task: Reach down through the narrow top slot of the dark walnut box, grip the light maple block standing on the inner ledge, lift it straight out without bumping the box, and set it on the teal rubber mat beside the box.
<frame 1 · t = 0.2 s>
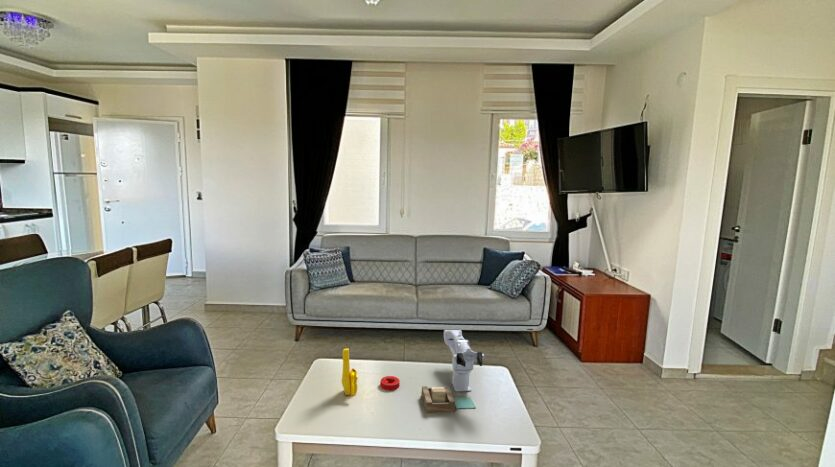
hand: (473, 364, 190), 21 cm above the table, tool horizontal, fingers open, 7 cm apart
decorative ornament: (389, 386, 211), on the table
slotted box: (437, 404, 196), on the table, touching maple block
teal mat: (463, 403, 197), on the table
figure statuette: (349, 393, 202), on the table
maple block: (437, 399, 196), point 2 cm above the table, touching slotted box
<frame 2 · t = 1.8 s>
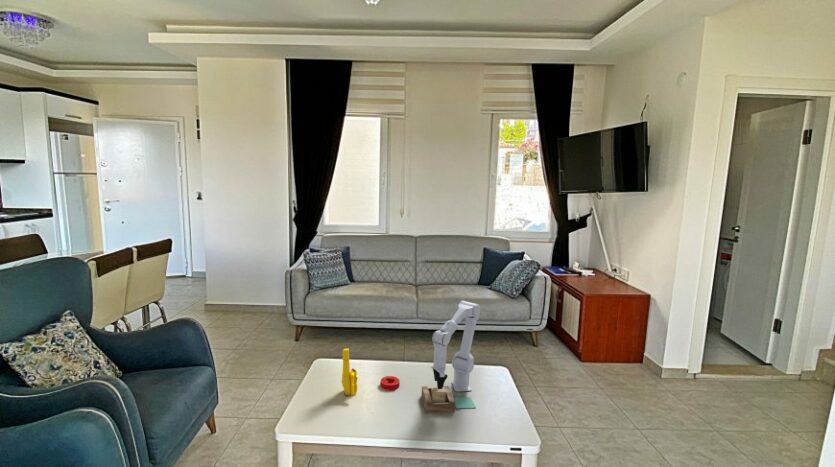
hand: (438, 384, 195), 9 cm above the table, tool pointing down, fingers open, 7 cm apart
nothing on the table moved.
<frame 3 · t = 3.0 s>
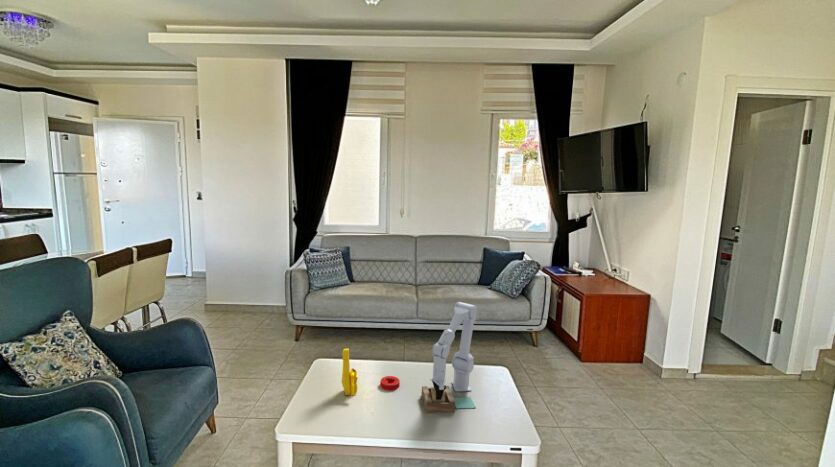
hand: (437, 396, 195), 3 cm above the table, tool pointing down, fingers closed on maple block, 4 cm apart
slotted box: (437, 404, 196), on the table
maple block: (437, 399, 196), point 2 cm above the table, touching gripper
everything else where it was.
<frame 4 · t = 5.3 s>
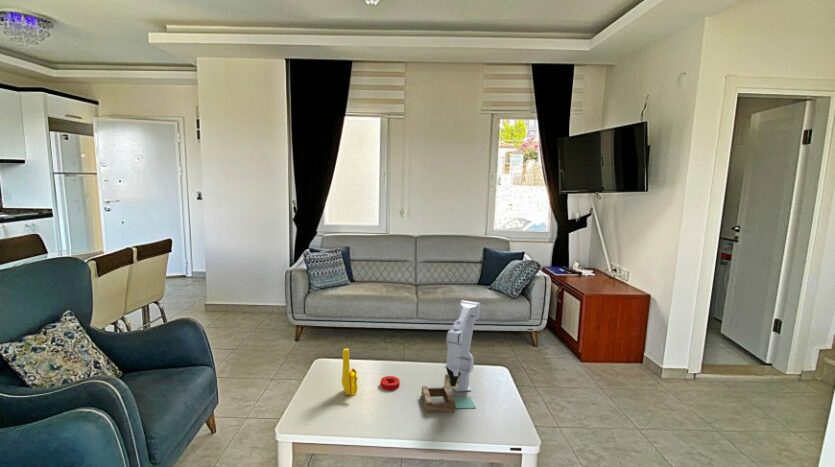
hand: (451, 383, 195), 10 cm above the table, tool pointing down, fingers closed on maple block, 4 cm apart
maple block: (451, 386, 196), point 9 cm above the table, touching gripper
everything else where it was.
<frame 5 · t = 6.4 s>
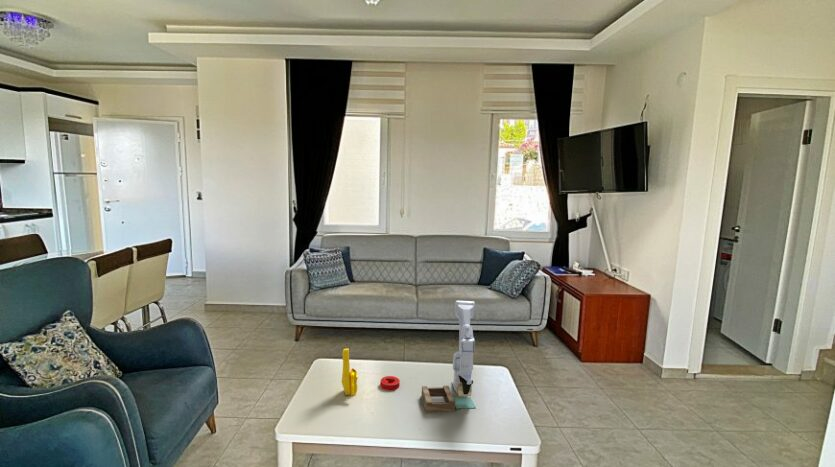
hand: (464, 391, 196), 6 cm above the table, tool pointing down, fingers closed on maple block, 4 cm apart
maple block: (463, 394, 196), point 5 cm above the table, touching gripper
everything else where it was.
when the fingers open (3 cm above the table, at t = 7.4 s): maple block drops 1 cm, resting on teal mat.
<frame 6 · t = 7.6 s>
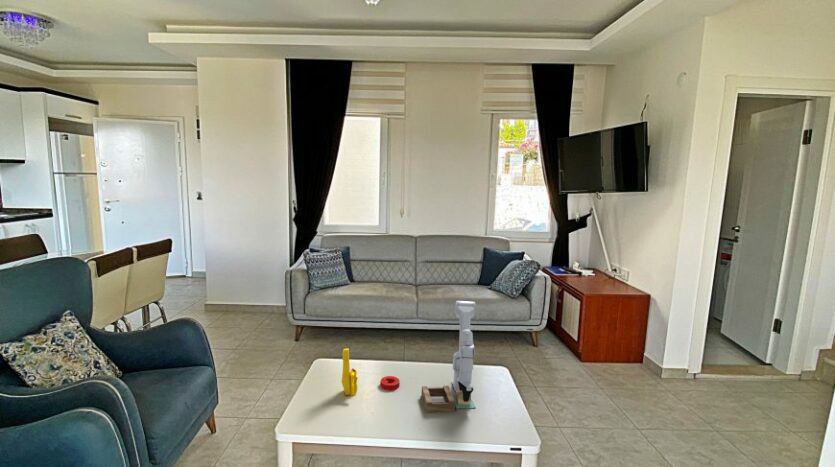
hand: (464, 397, 197), 3 cm above the table, tool pointing down, fingers open, 6 cm apart
maple block: (463, 402, 197), resting on teal mat
everything else where it was.
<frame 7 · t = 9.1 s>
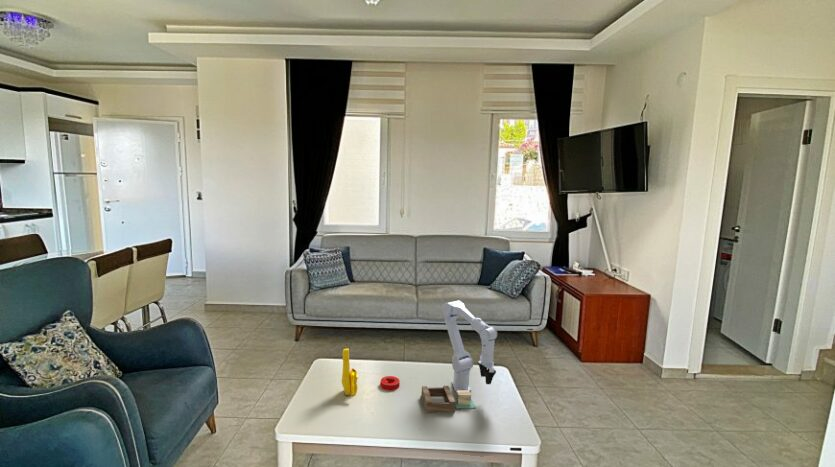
hand: (485, 380, 199), 10 cm above the table, tool pointing down, fingers open, 7 cm apart
nothing on the table moved.
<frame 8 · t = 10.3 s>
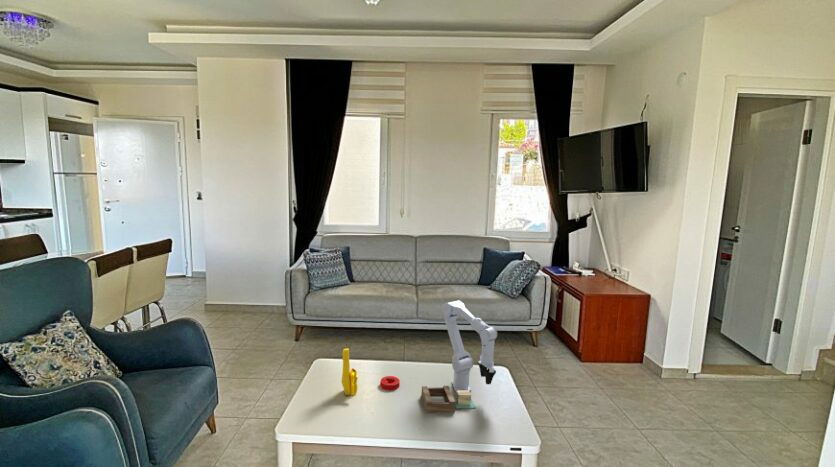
hand: (485, 380, 199), 10 cm above the table, tool pointing down, fingers open, 7 cm apart
nothing on the table moved.
at the end: maple block inside the target area on the teal mat (0.2 cm from its centre), point 0.4 cm above the teal mat's base; maple block tilted 0°; slotted box moved 0.4 cm from its start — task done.
